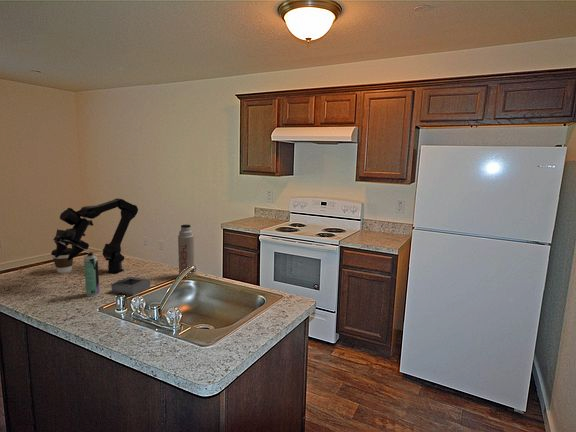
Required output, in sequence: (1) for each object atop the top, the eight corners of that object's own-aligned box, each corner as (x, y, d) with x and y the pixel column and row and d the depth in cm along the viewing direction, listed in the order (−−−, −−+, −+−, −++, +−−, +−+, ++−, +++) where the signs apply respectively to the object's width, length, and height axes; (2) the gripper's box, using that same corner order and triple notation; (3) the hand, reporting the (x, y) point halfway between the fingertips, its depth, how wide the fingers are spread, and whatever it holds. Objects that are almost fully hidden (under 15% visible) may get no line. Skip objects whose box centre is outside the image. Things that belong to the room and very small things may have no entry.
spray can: (102, 293, 169) (99, 251, 166) (91, 297, 165) (88, 254, 161) (94, 291, 172) (91, 250, 168) (83, 295, 167) (80, 253, 163)
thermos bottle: (188, 279, 191) (187, 227, 187) (175, 277, 194) (174, 225, 190) (197, 274, 199) (196, 224, 194) (185, 272, 202) (184, 223, 197)
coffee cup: (49, 271, 198) (47, 250, 196) (70, 267, 206) (69, 246, 204) (57, 276, 191) (55, 253, 189) (79, 271, 200) (78, 249, 198)
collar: (130, 284, 182) (129, 276, 182) (150, 287, 179) (149, 279, 178) (111, 292, 171) (111, 284, 170) (132, 296, 167) (132, 287, 167)
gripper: (52, 220, 176) (34, 249, 170) (78, 224, 169) (60, 254, 162) (71, 230, 186) (55, 258, 179) (96, 234, 178) (80, 264, 171)
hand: (62, 258), depth 173 cm, fingers open, 9 cm apart
